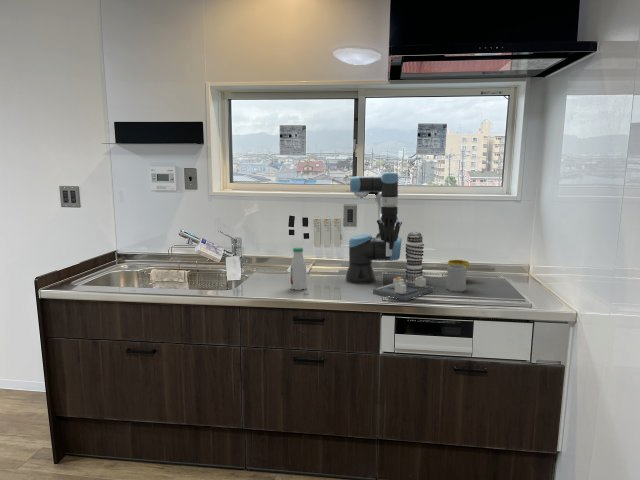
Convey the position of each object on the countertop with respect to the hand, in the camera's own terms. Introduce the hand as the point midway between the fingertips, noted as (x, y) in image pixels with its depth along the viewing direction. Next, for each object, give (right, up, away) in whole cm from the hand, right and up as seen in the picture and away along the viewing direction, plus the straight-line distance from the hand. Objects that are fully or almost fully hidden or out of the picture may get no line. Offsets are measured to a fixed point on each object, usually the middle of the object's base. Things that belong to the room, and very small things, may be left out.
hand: (388, 255), depth 210 cm
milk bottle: (-43, -16, +5) cm, 46 cm away
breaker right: (+14, -14, -2) cm, 20 cm away
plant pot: (+38, -13, +17) cm, 44 cm away
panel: (+6, -17, -4) cm, 18 cm away
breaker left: (+3, -16, -13) cm, 21 cm away
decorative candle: (+15, -14, +16) cm, 26 cm away
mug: (+32, -16, +2) cm, 36 cm away
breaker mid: (+4, -14, -3) cm, 15 cm away
